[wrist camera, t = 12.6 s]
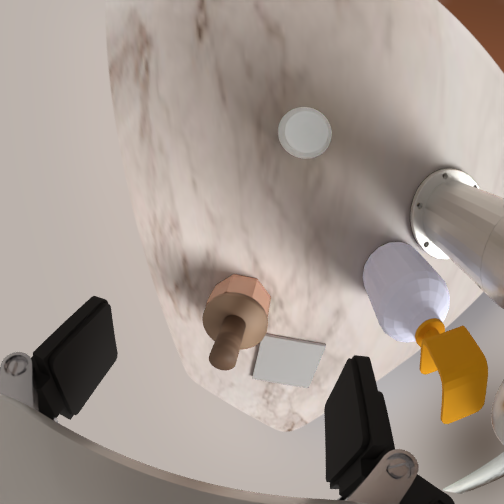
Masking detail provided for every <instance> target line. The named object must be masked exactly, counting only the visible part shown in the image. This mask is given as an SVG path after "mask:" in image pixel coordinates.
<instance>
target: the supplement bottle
mask: <svg viewBox="0 0 504 504" xmlns="http://www.w3.org/2000/svg"><path fill="white" fill-rule="evenodd" d="M278 138H279V141H280V143H281V145H282V147H283V148H284V149H285V150H286V151H287V152H288V153H289V154H291V155H292V156H295V157H297V158H302V159H310V158H314V157H317V156H319V155H321V154H322V153H323V152H324V151H325V150H326V149H327V148H328V146H329V144H330V142H331V138H332V130H331V126H330V123H329V121H328V120H327V118H326V117H325V116H324V115H323V114H322V113H321V112H319V111H318V110H316V109H313V108H310V107H298V108H295V109H292V110H290V111H289V112H287V113H286V114H285V115H284V116H283V118H282V119H281V121H280V123H279V126H278Z"/></svg>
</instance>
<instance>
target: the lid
mask: <svg viewBox="0 0 504 504" xmlns="http://www.w3.org/2000/svg"><path fill="white" fill-rule="evenodd" d="M203 325H204V328H205V330H206V332H207V334H208V335H209V336H210V337H211V338H212V339H213V340H214V341H215V343H214V345H213V348H212V350H211V353H210V355H209V361H210V363H211V364H212V365H213V366H214V367H215V368H217V369H220V370H230V369H232V368H234V366H235V364H236V361H237V357H238V354H239V350H240V349H248V348H251V347H254V346H255V345H257V344H258V343H260V342H261V341H262V340H263V338H264V337H265V335H266V332H267V326H268V318H267V314H266V312H265V310H264V308H263V307H262V306H261V305H260V304H259V303H258V302H257V301H256V300H255V299H253V298H252V297H250V296H247V295H245V294H241V293H236V292H228V293H223V294H220V295H218V296H216V297H214V298H213V299H212V300H211V301H210V302H209V303H208V305H207V306H206V308H205V310H204V313H203Z"/></svg>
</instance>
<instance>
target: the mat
mask: <svg viewBox="0 0 504 504" xmlns="http://www.w3.org/2000/svg"><path fill="white" fill-rule="evenodd" d="M325 347H326V344H322V343H316V342H310V341H304V340H298V339H292V338H287V337H281V336H276V335H271V334H266V335H265V337H264V338H263V340H262V341H261V343H260V347H259V351H258V356H257V360H256V364H255V368H254V373H253V377H252V379H257V380H262V381H267V382H273V383H279V384H285V385H291V386H297V387H304V388H309V386H310V384H311V381H312V379H313V377H314V374H315V372H316V369H317V367H318V365H319V362H320V360H321V357H322V355H323V352H324V350H325Z"/></svg>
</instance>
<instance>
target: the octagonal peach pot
mask: <svg viewBox="0 0 504 504" xmlns="http://www.w3.org/2000/svg"><path fill="white" fill-rule="evenodd" d="M228 292H236V293H241V294H245V295H247V296H250V297H252V298H253V299H255V300H256V301H257V302H258V303H259V304H260V305H261V306H262V307H263V308H264V310H265V312H266V314H267V316H268V312H269V306H270V300H271V296H270V295H269V294H268V292H267V291H266V290H265V288H264V287H263V286H262V284H261V283H260V282H259V281H258V279H255V278H250V277H245V276H240V275H236V274H233V275H232V276H230V277H228V278H227V279H225V280H224V281H222V282H220V283H219V284H217V285H216V286H215V288H214V289H213V291H212V293H211V295H210V297H209V299H208V301H207V303H206V306H207V305H208V303H209V302H210V301H211V300H212V299H213V298H214V297H216V296H218V295H220V294H223V293H228Z"/></svg>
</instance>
